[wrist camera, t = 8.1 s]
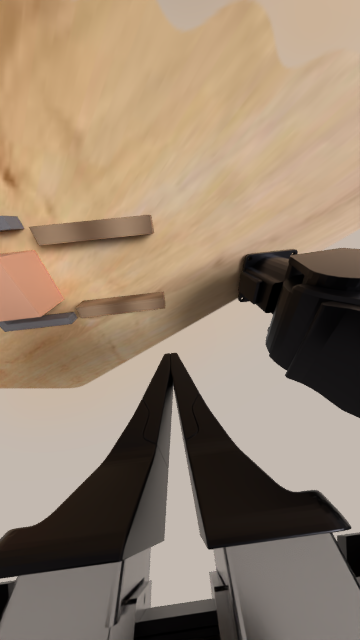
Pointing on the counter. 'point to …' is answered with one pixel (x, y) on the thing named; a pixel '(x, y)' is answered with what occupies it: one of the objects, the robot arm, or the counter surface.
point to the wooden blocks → (103, 231)
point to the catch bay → (44, 321)
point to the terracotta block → (25, 287)
